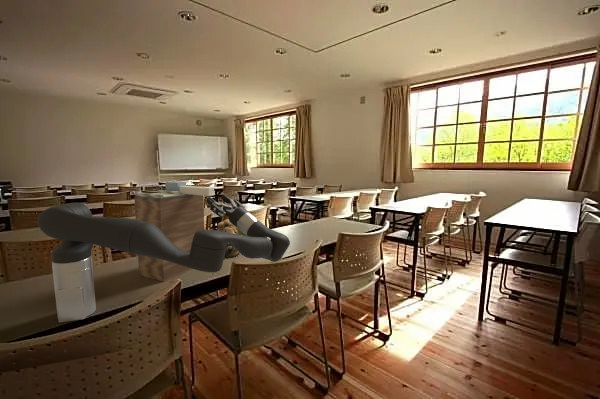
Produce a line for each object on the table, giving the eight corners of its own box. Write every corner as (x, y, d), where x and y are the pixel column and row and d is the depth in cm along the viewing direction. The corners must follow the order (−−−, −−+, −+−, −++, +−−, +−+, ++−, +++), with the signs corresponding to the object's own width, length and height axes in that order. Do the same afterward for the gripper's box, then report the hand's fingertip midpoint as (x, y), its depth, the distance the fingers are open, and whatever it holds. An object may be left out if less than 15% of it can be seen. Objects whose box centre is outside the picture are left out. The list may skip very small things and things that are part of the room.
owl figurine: (207, 250, 150) (206, 217, 148) (229, 246, 158) (228, 215, 156) (222, 260, 137) (222, 224, 134) (245, 255, 144) (245, 221, 142)
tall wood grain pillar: (205, 263, 132) (203, 189, 127) (163, 281, 112) (159, 195, 107) (182, 258, 137) (179, 188, 133) (139, 275, 118) (134, 192, 113)
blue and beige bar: (215, 195, 120) (215, 183, 119) (207, 196, 116) (207, 184, 115) (174, 191, 129) (174, 181, 129) (166, 192, 125) (165, 182, 125)
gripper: (258, 210, 117) (230, 188, 122) (236, 216, 104) (205, 191, 109) (251, 225, 120) (223, 202, 124) (228, 232, 107) (198, 207, 112)
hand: (215, 197), depth 117 cm, fingers open, 8 cm apart
